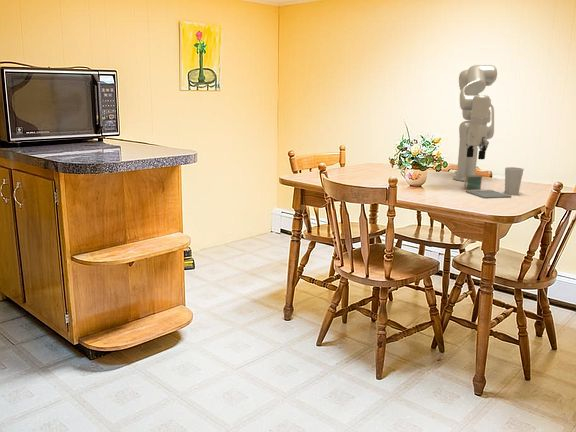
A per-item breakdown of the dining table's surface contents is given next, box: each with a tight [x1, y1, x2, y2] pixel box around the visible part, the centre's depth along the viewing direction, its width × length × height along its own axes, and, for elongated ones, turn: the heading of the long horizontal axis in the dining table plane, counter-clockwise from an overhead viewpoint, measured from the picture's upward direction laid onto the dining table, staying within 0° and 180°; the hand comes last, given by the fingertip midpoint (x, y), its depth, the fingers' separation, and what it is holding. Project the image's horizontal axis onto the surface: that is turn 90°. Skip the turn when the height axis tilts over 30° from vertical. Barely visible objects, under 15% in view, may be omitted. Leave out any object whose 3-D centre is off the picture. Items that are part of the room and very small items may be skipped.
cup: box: [503, 166, 525, 196], centre depth 250 cm, size 8×8×12 cm
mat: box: [465, 189, 512, 199], centre depth 248 cm, size 15×14×1 cm
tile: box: [463, 174, 483, 191], centre depth 259 cm, size 2×8×7 cm, turn 104°
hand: (475, 158), depth 256 cm, fingers open, 9 cm apart
